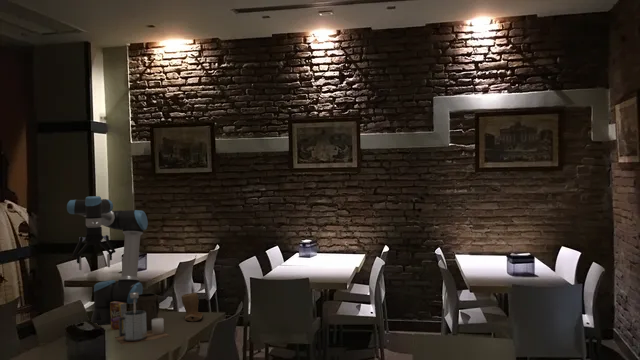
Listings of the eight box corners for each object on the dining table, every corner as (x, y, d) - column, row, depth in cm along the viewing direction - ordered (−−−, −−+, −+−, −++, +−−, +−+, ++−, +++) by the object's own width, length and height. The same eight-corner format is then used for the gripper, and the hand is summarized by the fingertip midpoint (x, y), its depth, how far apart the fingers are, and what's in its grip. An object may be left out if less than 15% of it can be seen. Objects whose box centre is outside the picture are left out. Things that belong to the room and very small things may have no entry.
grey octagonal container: (117, 338, 280) (116, 312, 280) (143, 334, 287) (142, 309, 287) (122, 343, 271) (121, 317, 271) (149, 339, 278) (148, 313, 278)
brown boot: (183, 316, 330) (182, 291, 330) (203, 315, 332) (203, 290, 332) (179, 322, 315) (179, 296, 315) (201, 321, 317) (200, 295, 317)
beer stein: (150, 334, 292) (151, 296, 293) (132, 333, 294) (132, 295, 295) (164, 328, 307) (165, 292, 308) (146, 328, 309) (147, 291, 310)
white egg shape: (150, 332, 291) (150, 319, 291) (161, 330, 294) (161, 317, 294) (153, 335, 286) (153, 321, 286) (165, 333, 289) (165, 319, 289)
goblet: (125, 332, 281) (124, 292, 281) (141, 330, 285) (140, 290, 285) (129, 336, 274) (128, 295, 274) (145, 333, 279) (144, 293, 278)
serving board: (114, 340, 283) (114, 337, 283) (161, 332, 296) (161, 329, 296) (122, 348, 270) (122, 344, 270) (171, 339, 282) (171, 336, 282)
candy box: (110, 330, 302) (109, 302, 302) (117, 328, 306) (116, 300, 306) (120, 332, 297) (120, 304, 297) (127, 330, 301) (126, 302, 301)
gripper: (68, 228, 273) (69, 271, 273) (120, 225, 286) (121, 266, 286) (66, 227, 279) (66, 270, 279) (117, 224, 293) (118, 265, 293)
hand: (94, 268), depth 283 cm, fingers open, 13 cm apart
